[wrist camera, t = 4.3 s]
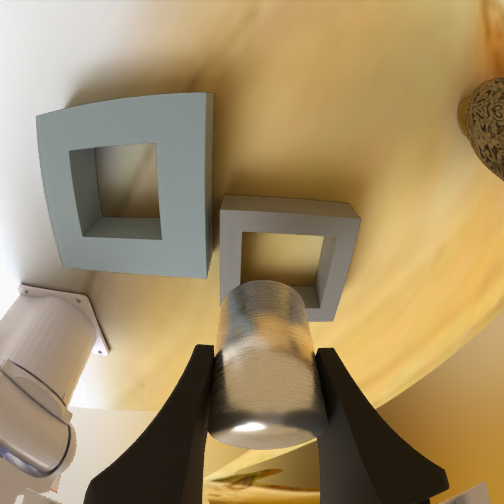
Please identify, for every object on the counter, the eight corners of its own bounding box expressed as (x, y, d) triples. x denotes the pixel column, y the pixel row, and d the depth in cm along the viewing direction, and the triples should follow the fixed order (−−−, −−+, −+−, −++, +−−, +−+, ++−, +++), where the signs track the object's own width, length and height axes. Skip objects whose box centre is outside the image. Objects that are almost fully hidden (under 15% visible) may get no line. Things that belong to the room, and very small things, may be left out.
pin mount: (223, 295, 21) (220, 318, 19) (224, 194, 17) (220, 209, 15) (326, 299, 22) (333, 321, 20) (348, 203, 18) (361, 219, 15)
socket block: (81, 246, 19) (63, 267, 17) (62, 110, 14) (35, 116, 11) (212, 253, 20) (206, 278, 17) (214, 93, 14) (206, 92, 12)
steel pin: (220, 339, 14) (210, 447, 9) (219, 277, 12) (203, 402, 7) (297, 342, 14) (312, 447, 9) (312, 281, 12) (343, 401, 7)
